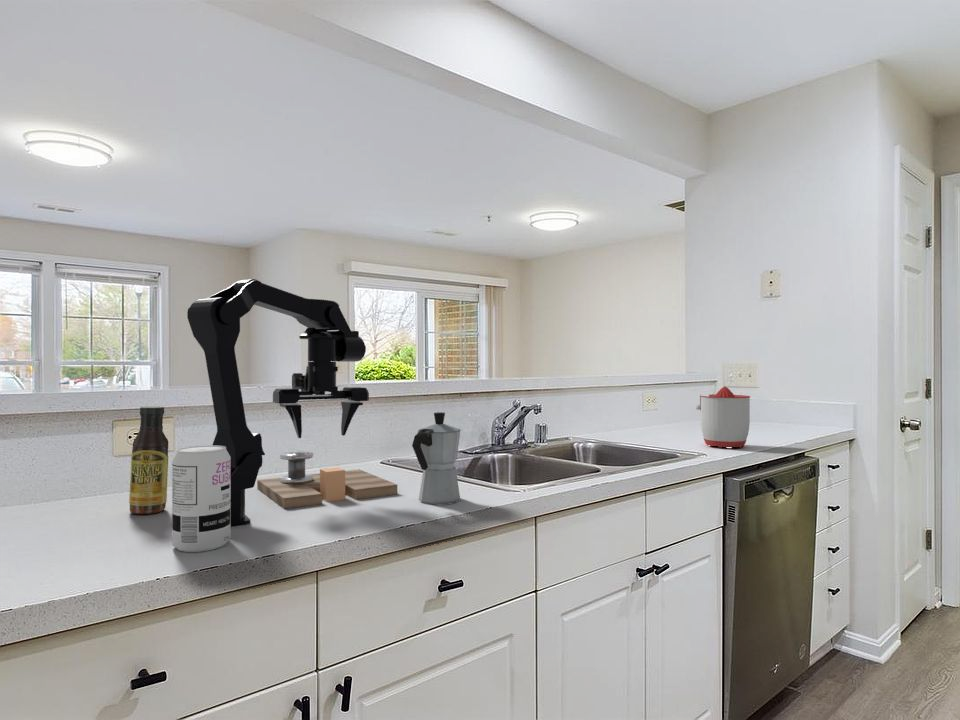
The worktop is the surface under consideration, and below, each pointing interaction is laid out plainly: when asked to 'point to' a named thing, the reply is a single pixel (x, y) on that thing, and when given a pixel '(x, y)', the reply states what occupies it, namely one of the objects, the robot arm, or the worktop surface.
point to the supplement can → (201, 498)
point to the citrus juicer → (725, 418)
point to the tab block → (332, 484)
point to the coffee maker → (438, 461)
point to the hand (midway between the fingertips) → (321, 436)
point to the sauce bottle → (149, 464)
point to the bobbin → (296, 467)
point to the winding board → (309, 493)
